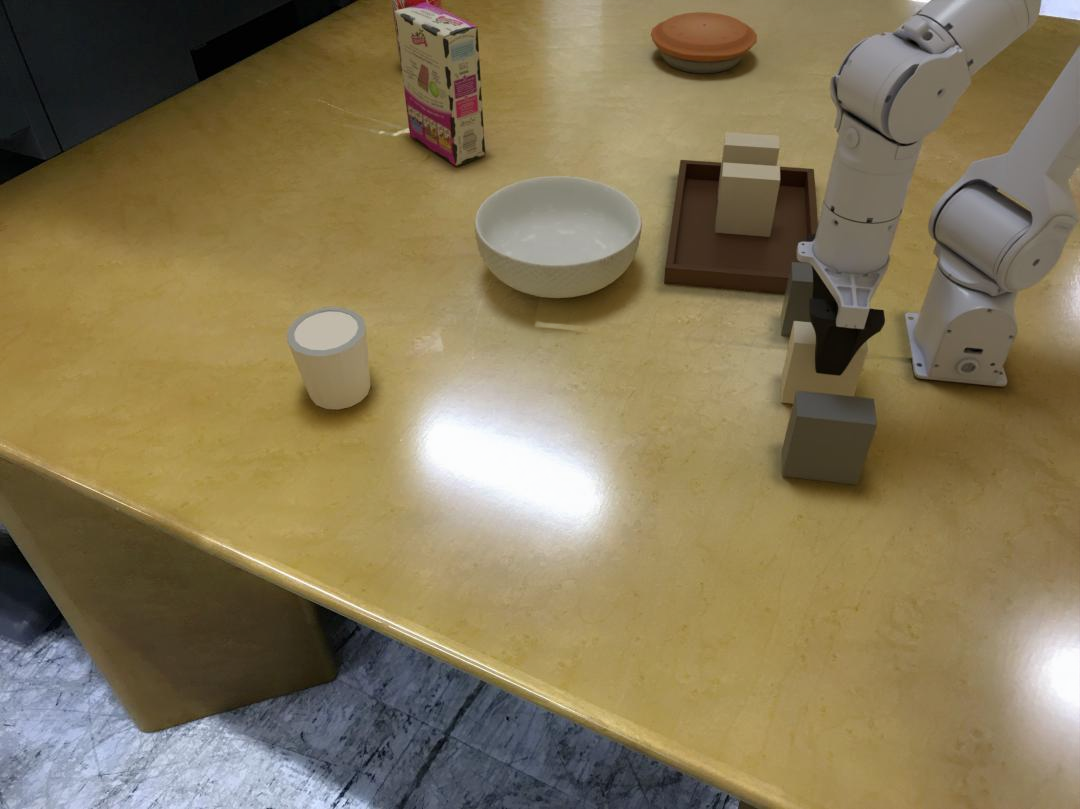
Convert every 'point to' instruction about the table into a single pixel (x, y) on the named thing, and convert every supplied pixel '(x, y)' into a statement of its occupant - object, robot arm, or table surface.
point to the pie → (703, 41)
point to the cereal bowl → (558, 235)
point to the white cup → (331, 356)
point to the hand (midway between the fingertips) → (826, 342)
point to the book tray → (733, 256)
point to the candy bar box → (442, 81)
